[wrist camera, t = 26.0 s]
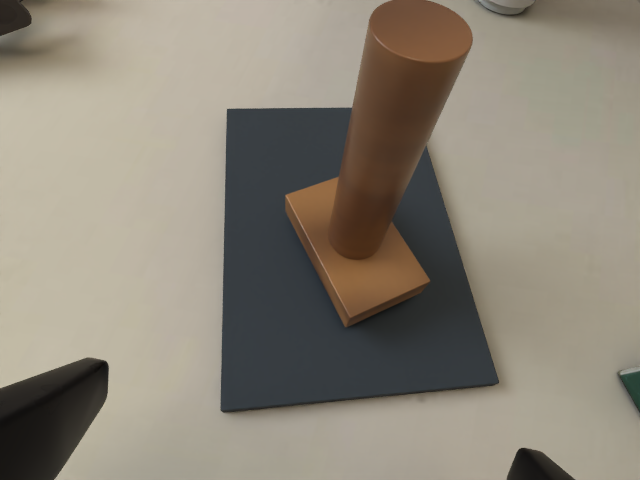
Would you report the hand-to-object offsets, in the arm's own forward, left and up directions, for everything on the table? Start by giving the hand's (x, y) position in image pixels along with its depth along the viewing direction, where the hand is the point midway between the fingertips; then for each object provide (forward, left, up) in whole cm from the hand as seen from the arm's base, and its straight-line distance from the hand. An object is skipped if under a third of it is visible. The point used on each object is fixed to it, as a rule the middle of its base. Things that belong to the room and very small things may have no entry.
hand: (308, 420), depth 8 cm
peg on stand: (+9, -4, -11) cm, 15 cm away
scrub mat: (+11, -4, -12) cm, 17 cm away
